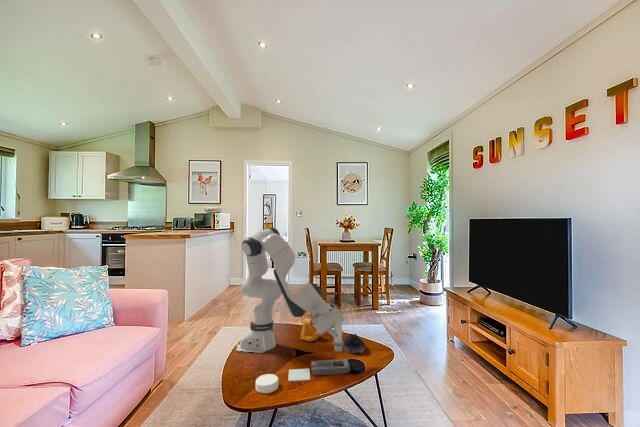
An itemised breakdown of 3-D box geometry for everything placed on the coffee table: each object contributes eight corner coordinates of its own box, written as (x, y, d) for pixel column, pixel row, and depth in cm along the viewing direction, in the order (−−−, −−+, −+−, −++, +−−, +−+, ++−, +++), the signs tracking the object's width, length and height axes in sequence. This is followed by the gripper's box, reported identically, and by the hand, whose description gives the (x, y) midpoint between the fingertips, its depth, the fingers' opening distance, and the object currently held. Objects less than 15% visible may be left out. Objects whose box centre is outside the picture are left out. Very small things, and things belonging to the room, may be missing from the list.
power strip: (312, 375, 136) (311, 368, 136) (311, 366, 145) (311, 359, 145) (350, 373, 137) (350, 366, 137) (347, 364, 146) (346, 357, 146)
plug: (333, 352, 139) (332, 325, 140) (332, 347, 145) (331, 321, 145) (344, 351, 140) (344, 324, 140) (343, 346, 145) (342, 320, 146)
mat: (288, 381, 131) (288, 380, 131) (288, 370, 141) (288, 369, 141) (310, 380, 131) (310, 379, 131) (309, 369, 141) (309, 368, 141)
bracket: (310, 342, 174) (309, 322, 174) (300, 340, 178) (300, 320, 178) (320, 337, 183) (320, 317, 183) (311, 334, 187) (310, 315, 187)
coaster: (277, 393, 122) (277, 384, 122) (253, 394, 122) (253, 386, 122) (279, 380, 132) (279, 372, 132) (257, 382, 132) (257, 374, 132)
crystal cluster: (356, 343, 173) (353, 326, 174) (371, 349, 162) (369, 331, 162) (338, 351, 165) (336, 333, 166) (353, 357, 154) (350, 338, 155)
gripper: (313, 313, 138) (331, 338, 132) (335, 303, 155) (352, 325, 149) (306, 321, 140) (323, 346, 135) (329, 310, 157) (345, 332, 151)
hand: (339, 335), depth 142 cm, fingers closed on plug, 4 cm apart
